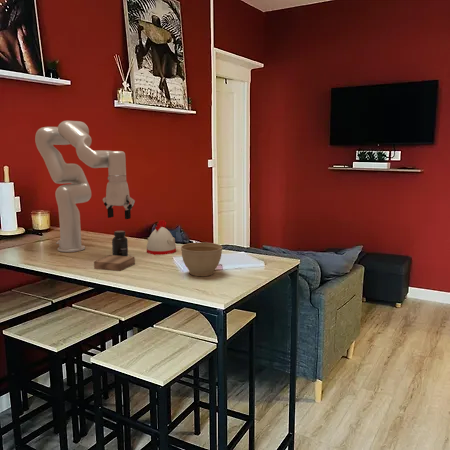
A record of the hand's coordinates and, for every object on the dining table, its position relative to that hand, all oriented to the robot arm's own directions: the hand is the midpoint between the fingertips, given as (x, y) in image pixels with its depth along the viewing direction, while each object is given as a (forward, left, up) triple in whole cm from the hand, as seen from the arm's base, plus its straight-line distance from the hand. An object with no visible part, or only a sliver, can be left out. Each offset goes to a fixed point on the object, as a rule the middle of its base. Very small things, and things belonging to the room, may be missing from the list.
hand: (119, 218), depth 205 cm
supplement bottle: (0, 0, -18) cm, 18 cm away
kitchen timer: (+9, +19, -18) cm, 28 cm away
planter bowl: (+46, -6, -18) cm, 50 cm away
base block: (+8, -13, -18) cm, 24 cm away
